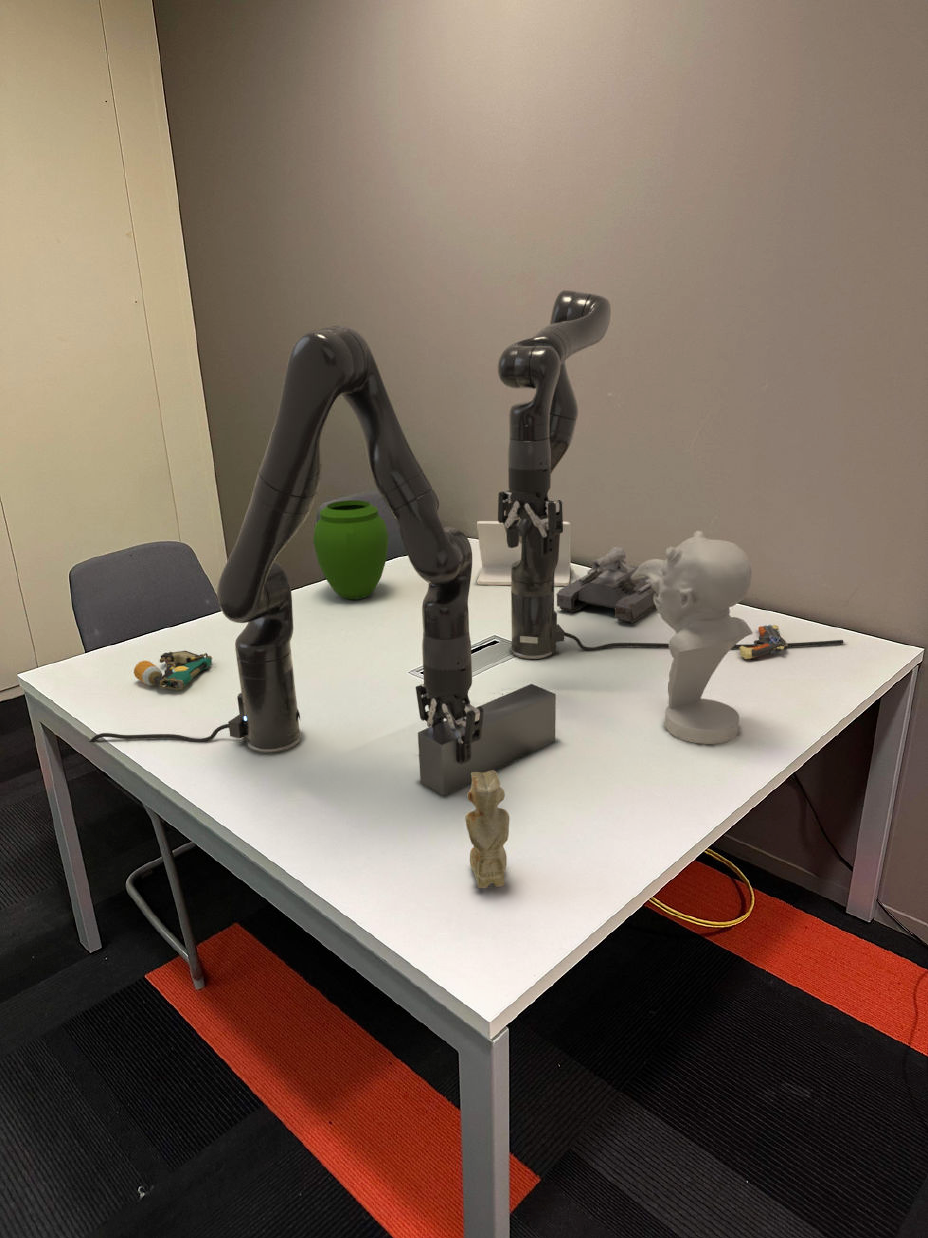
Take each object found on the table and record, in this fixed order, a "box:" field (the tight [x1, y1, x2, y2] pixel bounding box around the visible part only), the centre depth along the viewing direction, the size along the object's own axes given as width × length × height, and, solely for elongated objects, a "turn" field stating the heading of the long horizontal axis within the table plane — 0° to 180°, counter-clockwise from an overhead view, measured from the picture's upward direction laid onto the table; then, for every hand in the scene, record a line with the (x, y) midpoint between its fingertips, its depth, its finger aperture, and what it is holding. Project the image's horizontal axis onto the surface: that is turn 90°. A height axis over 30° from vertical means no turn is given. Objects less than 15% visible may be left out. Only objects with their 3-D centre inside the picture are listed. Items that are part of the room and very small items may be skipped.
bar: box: [417, 683, 557, 797], centre depth 143 cm, size 26×6×9 cm, turn 131°
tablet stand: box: [476, 520, 572, 587], centre depth 236 cm, size 18×25×17 cm
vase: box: [312, 499, 389, 601], centre depth 223 cm, size 20×20×24 cm
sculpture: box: [464, 770, 510, 889], centre depth 113 cm, size 6×7×15 cm
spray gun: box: [133, 650, 213, 690], centre depth 180 cm, size 4×17×15 cm
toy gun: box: [739, 624, 788, 660], centre depth 187 cm, size 3×19×10 cm
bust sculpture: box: [631, 530, 754, 745], centre depth 151 cm, size 16×24×35 cm, turn 28°
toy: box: [556, 546, 656, 624], centre depth 212 cm, size 25×20×15 cm
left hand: (450, 753), depth 137 cm, fingers closed on bar, 6 cm apart
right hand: (529, 551), depth 157 cm, fingers open, 8 cm apart
